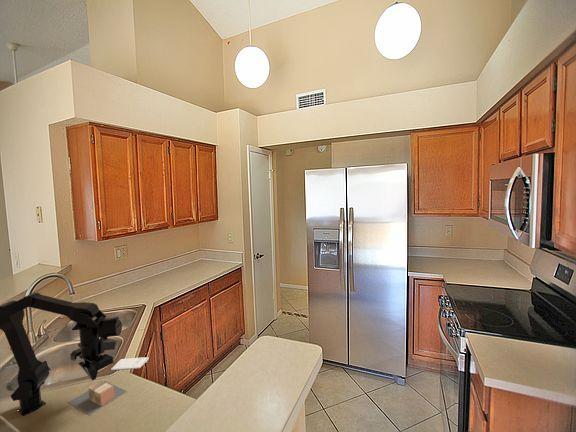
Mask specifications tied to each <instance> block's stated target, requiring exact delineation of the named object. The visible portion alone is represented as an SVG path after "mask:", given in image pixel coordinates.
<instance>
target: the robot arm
mask: <svg viewBox="0 0 576 432" xmlns="http://www.w3.org/2000/svg"><path fill="white" fill-rule="evenodd" d="M27 308H32V309H36V310H41V311H45V312H49V313H53V314H57V315H62V316H64V317H67V318H68V319H69V320H70V321H72V322H73V323H76V324H75V325H74V326H73V327H72V328H71V331H78V334H79V343H77V347H78V348H77V349H74V350H72V352H71V353H70V354H69V355H70V357H69V358H70V360H71V361H73V362H75V361H77V358H78V357H79V358H78V359H79V360H80V362H79V363H78V366H80V368H82V370H83V371H84V373H85V374H86V375H87V376H88V378H89V379H90V380H91V381H95V380H96V379H97V376H98V372H99V371H101V370H102V369H104V368H107V367H108V366H110V365H112V364H114V362H115V361H114V360H115V359H114V356H112V355H109V354H108V353H105V351H115V350H116V347H117V342H118V340H116V339H113V338H111V337H118V336H120V335H121V333H122V330H123V323H122V320H121V319H119V316H113V317H108V318H107V315H106V314H104V312H103V311H101V310H100V308H99V307H98V305H97V304H96V303H93V302H85V301H84V302H71V301H68V300H64V299H60V298H56V297H52V296H48V295H43V294H42V293H39V292H32V293H30V294H27V295H26V296H23V297H22V298H20V299H19V300H10V301H7V302H4V303H3V304H1V305H0V330H1V331H3V333H4V335H5V337H6V340H7V343H8V345H9V348H10V350H11V351H12V354H13V358H14V360H15V362H16V363H17V366H18V373H17V378H16V381H17V385H18V387H17V388H16V389H15V390H14V391H13V393H11V395H10V398H11V400H12V401H13V402H15V401H18V403H19V408H20V409H19V408H18V409H19V411H18V412H19V413H18V412H17V413H18V414H20V415H21V416H22V417H24V416H27V415H29V414H31V413H33V412H34V411H35V410H38V409H40V408H41V407H43V406H45V405H46V404H47V402H45V401H44V400H42V392H41V387H42V386H43V385H44V384H46V383H45V382H46V380H47V379H48V378H49V375H50V371H51V368H50V367H49V365H48V361H47V360H43V361H41V360H39V359H37V355H36V353H35V350H34V348H33V346H32V344H31V341H30V339H29V336H28V334H27V331H26V329H25V326H24V324H23V322H24V317H25V311H24V310H25V309H27ZM94 318H95V319H94Z"/></svg>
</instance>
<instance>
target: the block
mask: <svg viewBox="0 0 576 432" xmlns="http://www.w3.org/2000/svg"><path fill="white" fill-rule="evenodd" d="M108 383H109V382H108ZM108 383H105V382H104V381H103V380H99V381H98V382H97V383H95V384H93V385H91V386H89V387H88V391H89V398H90V400H91V401H93V402H95V403H97V404H99V405H100V406H103V405H104V404H106V403H108V402H109V401H111V400H112V399H114V398H115V396H114V386H112V385H110V384H108ZM108 404H109V403H108Z"/></svg>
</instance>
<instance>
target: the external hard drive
mask: <svg viewBox="0 0 576 432" xmlns="http://www.w3.org/2000/svg"><path fill="white" fill-rule="evenodd" d="M149 359H150V358H149V356H148V357H147V356H146V357H132V358H131V357H129V358H122V359H119V361H117V363H115V365H113V367H111V369H110V371H121V370H122V371H124V370H133V369H135V370H136V369H141V368H142V366H144V365H145V364H146V363H147V361H148V360H149Z"/></svg>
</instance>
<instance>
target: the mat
mask: <svg viewBox="0 0 576 432" xmlns="http://www.w3.org/2000/svg"><path fill="white" fill-rule="evenodd" d="M103 382H105V383H108V384H110V385H112V386H114V396H115V398H114V399H112V400H111V401H109V402H108V403H106V404H104V405H103V406H100V405H99V404H97V403H95V402H93V401H91V400H90V398H89V390H87V391H85V392H83V393H82V394H80V395H78V396H76V397H74V398H73V399H71V400H69V401H67V403H68V404H69V405H71V406H73V407H75V408H76V409H78V410H79V411H81V412H83V413H85V414H86V415H88V416H91V415H93V414H94V413H96V412H97V411H99V410H101V409H102V408H104V407H105V406H107V405H108V404H110V403H112V402H113V401H114V400H116V399H118V398H119V397H121V396H122V395H124V394H126V393H127V392H128V390H125V389H123V388H121V387H119V386H117V385H115V384H113V383H110V382H108V381H106V380H104V381H103Z"/></svg>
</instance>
